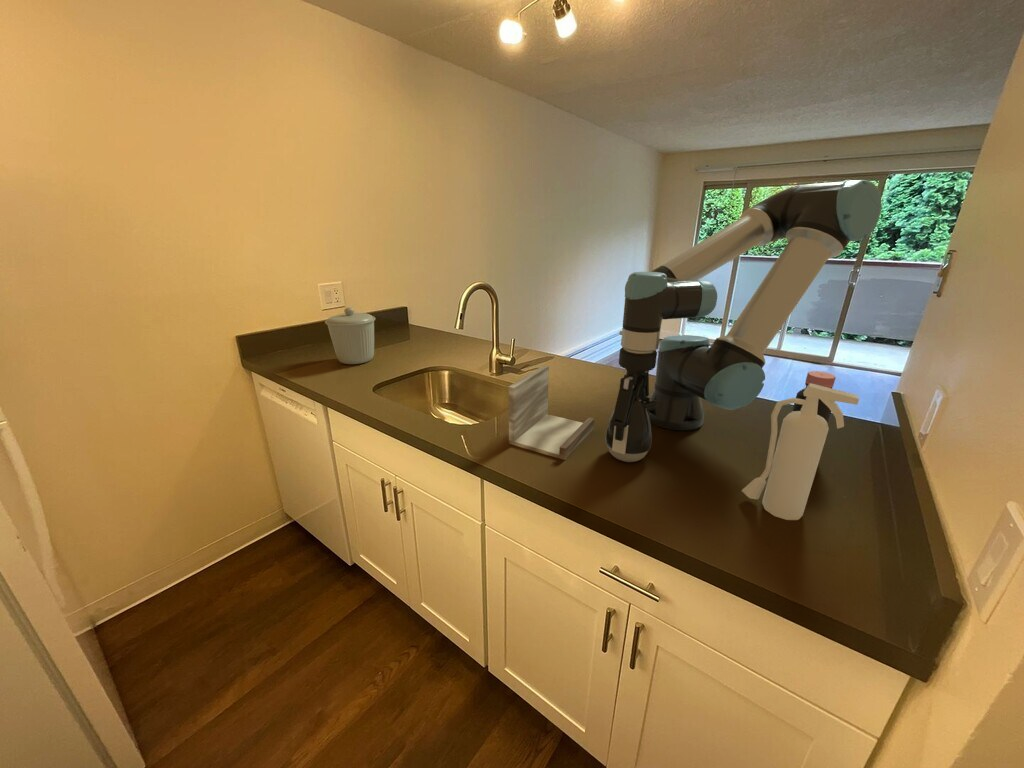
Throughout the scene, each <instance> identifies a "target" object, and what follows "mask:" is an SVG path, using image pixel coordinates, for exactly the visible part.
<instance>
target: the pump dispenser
mask: <svg viewBox="0 0 1024 768" xmlns="http://www.w3.org/2000/svg"><path fill="white" fill-rule="evenodd" d="M657 404H658V402H657V400H654V401H649V402H644V401H643V400H642V399H641V398H640V397H639V396H638V397H636V398H635V399H634V402H633V406H632V409H631V413H630V416H629V420H628V423H627V425H629V426H628V435H627V443H626V451H625V454H622V453H618V452H615V451H612V445H613V436H614V426H613V425H612V424H611V423H610V422H611V420H612V419H613V415H614V410H615V408H614V410H613V411H612V413H611V415H610V417H609V421H608V423H607V427H606V432H605V437H604V438H605V439H604V441H605V444H606V446H607V450H608V452H609V453H610V454H611V455H612V457H614V458H615V459H617V460H619V461H621V462H625V463H626V462H627V463H634V462H638V461H640V460H642V459H644V458H645V456H646V455H647V454H648V452H649V451H650V450H651V448H652V442H653V430H652V423H651V421H650V417H649V413H648V410H647V408H650V407H652V406H655V405H657Z"/></svg>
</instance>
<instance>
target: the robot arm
mask: <svg viewBox="0 0 1024 768" xmlns="http://www.w3.org/2000/svg"><path fill="white" fill-rule="evenodd" d="M881 197H882V196H881V193H880V190H879V189H878V187H877V185H876V184H875V183H873V182H872V181H870V180H867V179H859V180H858V179H855V180H853V179H851V178H850V179H846V180H843V181H835V182H823V183H822V182H821V183H820V182H819V183H809V184H808V183H805V184H798V185H794V186H790V187H788V188H786V189H784V190H781V191H779V192H777V193H774V194H772V195H771V196H768V197H767V198H765V199H764V200H763V199H762V200H761V201H759V202H757V203H756V204H754V205H753V206H750V207H749V208H747V209H746V210H744V211H743V212H742V214H740V218H739V219H737V220H735V221H734V222H732V223H731V224H729V225H727V226H725V227H724V228H722V229H720V230H719V231H717V232H716V233H713V234H712V235H710V236H708V237H706V238H705V239H703V240H702V241H700V242H698V243H697V244H695V245H693V246H691V247H690V248H688V249H686V250H684V251H683V252H682V253H680V254H678V255H676V256H675V257H673V258H671V259H669V260H668V261H667V262H665V263H663V264H662V265H660V266H658V267H656V268H654V269H653V270H651V271H634V272H632V273H630V274H629V275H628V278H627V281H626V283H625V285H624V306H623V316H622V317H623V318H622V329H621V330H619V332H618V333H619V335H620V336H621V340H620V346H621V348H620V349H619V355H618V356H619V357H618V365H619V366H620V367H621V368H622V369H625V370H626V374H624V376H623V377H621V378H620V381H619V388H618V394H617V397H616V403H615V405H614V409H615V410H613V411H614V415H613V419H612V420H611V422H610V423H611V424H612V425H613V426H614V436H613V445H612V451H615V452H618V453H622V454H625V451H626V443H627V435H628V426H629V425H627V423H628V420H629V416H630V413H631V409H632V406H633V402H634V399H635V398H636V397H638V396H639V397H640V398H641V399H642V400H643V401H644V402H649V401H654V400H657V402H658V404H657V405H655V406H652V407H650V408H647V410H648V413H649V417H650V421H651V425H652V424H653V425H655V426H656V427H660V428H662V429H667V430H672V431H692V430H693V431H694V430H697V429H699V428H701V427H702V426H703V424H704V419H705V414H704V410H703V409H704V408H703V404H702V399H703V400H705V401H706V402H708V403H709V404H711V405H713V406H717V407H719V408H721V409H724V410H737V409H739V408H743V407H745V406H747V405H750V404H751V403H752V402H753V401H754V400H755V399H756V398H757V397H758V396H759V395H760V394H761V392H762V390H763V388H764V386H765V382H764V381H765V380H766V374H765V371H764V369H763V367H764V366H765V364H766V358H765V356H764V353H765V352H766V350H767V349H768V347H769V346H770V344H771V343H772V341H773V340H774V338H775V337H776V335H777V334H778V332H779V331H780V330H781V328H782V327H783V326H784V324H785V322H786V321H787V320H788V318H789V317H790V315H791V314H792V312H793V311H794V309H795V308H796V307H797V304H799V302H800V301H801V299H802V298H803V296H804V295H805V294H806V292H807V290H808V289H809V288H810V286H812V283H813V282H814V280H815V279H816V277H817V276H818V274H819V273H820V271H821V270H822V269H823V267H824V265H825V264H826V263H827V261H828V260H829V259H832V258H836V257H838V256H840V255H841V254H842V253H843V252H844V250H845V249H846V247H847V246H848V245H849V243H850V242H858V241H862V240H863V239H866V238H868V236H870V235H871V234H872V233H873V231H874V230H875V229H876V226H877V224H878V222H879V219H880V216H881V211H882V198H881ZM781 239H782V240H783V239H786V241H787V242H786V243H787V244H786V245H785V247H784V249H783V250H782V251H781V253H780V254H779V256H778V258H776V260H775V262H774V263H773V265H772V267H771V268H770V270H769V271H768V272H767V274H766V275H765V277H764V278H763V280H762V281H761V283H760V285H759V286H758V287H757V289H756V290H755V292H754V294H753V295H752V296H751V298H750V300H749V301H748V302H747V304H746V305H745V306H744V309H743V310H742V312H741V313H740V315H739V316H738V317H737V319H736V320H735V322H734V323H733V325H732V327H731V328H730V329H729V331H728V332H727V334H725V335H724V336H719V337H716V338H715V340H714V341H713V343H712V344H711V345H710V339H709V337H705V336H701V335H693V334H692V335H691V334H686V335H685V334H683V335H682V334H681V335H670V336H666V337H664V338H662V339H661V340H660V336H661V327H662V322H663V320H674V319H675V320H676V319H691V318H692V319H696V318H701V317H707V316H708V315H710V314H711V313H712V312H713V311H714V310H715V308H716V306H717V303H718V301H717V299H718V292H717V289H716V287H715V285H714V284H713V283H712V282H710V281H709V280H708V281H707V280H701V279H702V278H704V277H706V276H707V275H709V274H711V273H713V272H714V271H715V270H718V269H719V268H720V267H723V266H725V265H726V264H727V263H729V262H731V261H732V260H734V259H736V258H738V257H739V256H741V255H742V254H744V253H746V252H748V251H749V250H751V249H753V248H754V247H764V246H766V245H768V244H769V243H771V242H773V241H777V240H781ZM659 343H660V344H659ZM657 350H658V351H657ZM655 368H656V371H655V379H654V380H655V381H654V386H653V388H654V389H653V391H652V393H651V394H650V392H649V391H650V390H649V389H650V388H649V387H650V383H649V381H650V378H649V377H650V373H649V371H651V370H654V369H655Z"/></svg>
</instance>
